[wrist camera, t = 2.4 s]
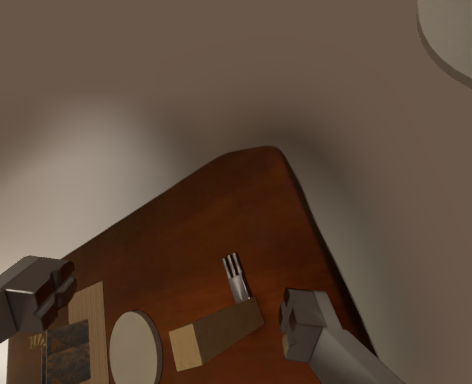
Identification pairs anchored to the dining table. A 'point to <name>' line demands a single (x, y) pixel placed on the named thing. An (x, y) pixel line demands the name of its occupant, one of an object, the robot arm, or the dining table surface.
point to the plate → (135, 350)
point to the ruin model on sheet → (77, 343)
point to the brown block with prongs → (218, 324)
